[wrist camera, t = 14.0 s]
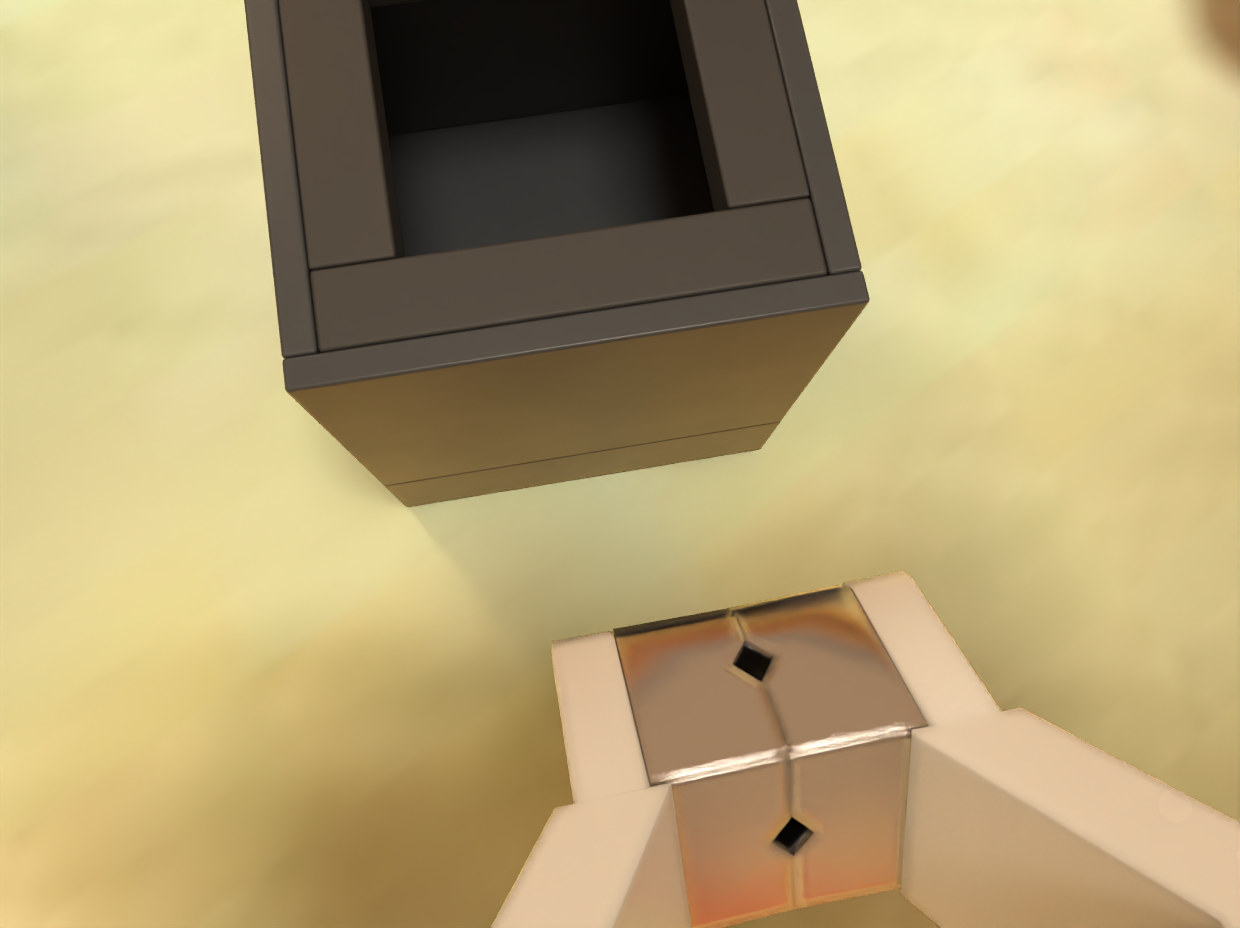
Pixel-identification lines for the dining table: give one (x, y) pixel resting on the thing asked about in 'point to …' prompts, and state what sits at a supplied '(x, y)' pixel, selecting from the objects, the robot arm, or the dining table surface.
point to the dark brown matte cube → (547, 231)
